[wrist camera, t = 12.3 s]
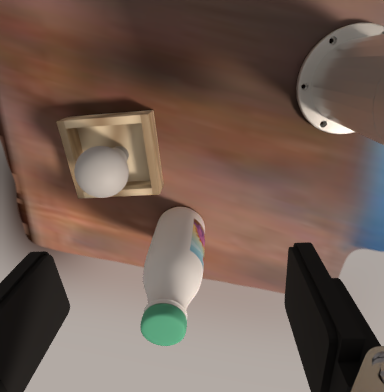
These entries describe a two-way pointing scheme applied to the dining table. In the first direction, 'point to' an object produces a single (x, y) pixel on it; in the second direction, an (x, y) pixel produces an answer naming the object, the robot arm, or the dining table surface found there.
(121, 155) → the lightbulb
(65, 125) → the holder
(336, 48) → the robot arm
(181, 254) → the milk bottle
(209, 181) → the dining table surface
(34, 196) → the dining table surface
